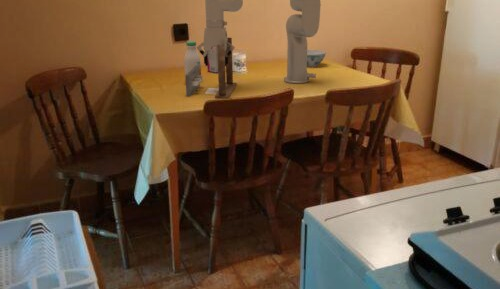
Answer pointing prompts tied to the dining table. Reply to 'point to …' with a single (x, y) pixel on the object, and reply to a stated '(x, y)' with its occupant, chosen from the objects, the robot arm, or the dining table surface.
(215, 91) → the pad
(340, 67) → the dining table surface
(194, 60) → the milk bottle
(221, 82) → the gate
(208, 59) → the supplement box
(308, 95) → the dining table surface
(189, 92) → the panel
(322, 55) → the chinaware
